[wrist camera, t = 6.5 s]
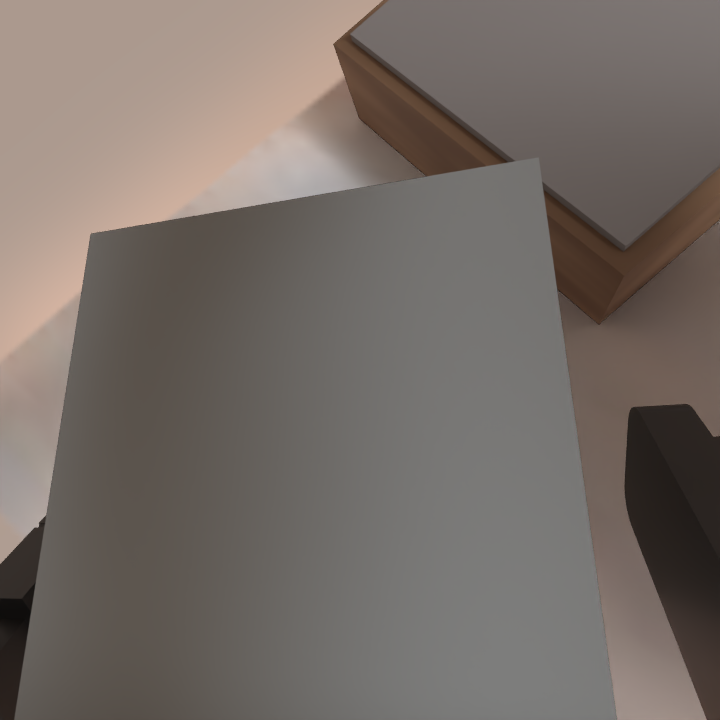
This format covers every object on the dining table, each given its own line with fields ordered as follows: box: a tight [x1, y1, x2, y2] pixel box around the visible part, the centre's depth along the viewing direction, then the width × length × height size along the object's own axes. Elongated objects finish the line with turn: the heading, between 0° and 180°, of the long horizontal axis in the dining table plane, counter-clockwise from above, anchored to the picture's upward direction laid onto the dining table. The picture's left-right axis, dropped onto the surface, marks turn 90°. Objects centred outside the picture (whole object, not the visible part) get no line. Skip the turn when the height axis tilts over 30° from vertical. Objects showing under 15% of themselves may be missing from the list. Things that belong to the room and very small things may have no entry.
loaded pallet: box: [14, 157, 617, 720], centre depth 11 cm, size 6×6×13 cm
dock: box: [334, 0, 720, 324], centre depth 18 cm, size 15×13×4 cm
